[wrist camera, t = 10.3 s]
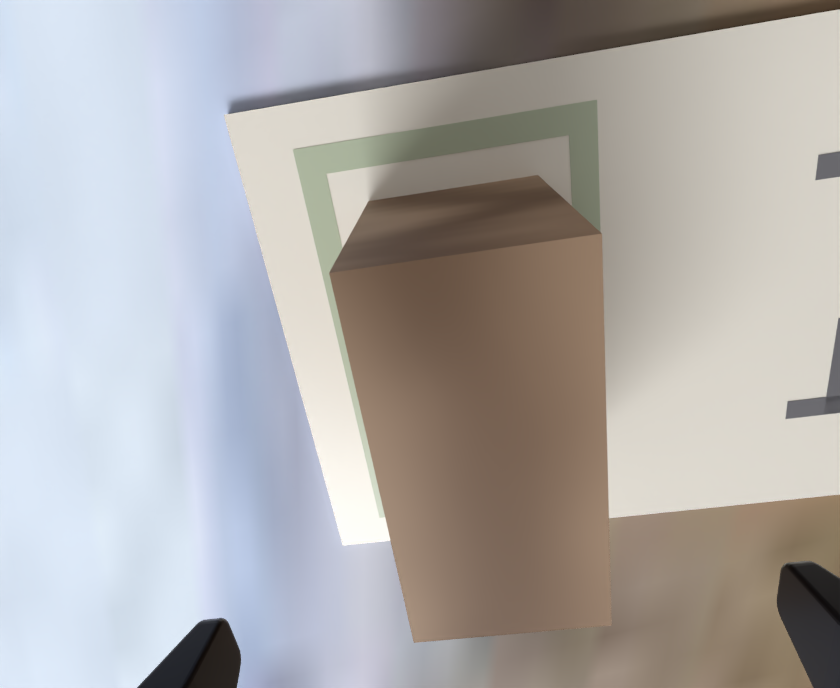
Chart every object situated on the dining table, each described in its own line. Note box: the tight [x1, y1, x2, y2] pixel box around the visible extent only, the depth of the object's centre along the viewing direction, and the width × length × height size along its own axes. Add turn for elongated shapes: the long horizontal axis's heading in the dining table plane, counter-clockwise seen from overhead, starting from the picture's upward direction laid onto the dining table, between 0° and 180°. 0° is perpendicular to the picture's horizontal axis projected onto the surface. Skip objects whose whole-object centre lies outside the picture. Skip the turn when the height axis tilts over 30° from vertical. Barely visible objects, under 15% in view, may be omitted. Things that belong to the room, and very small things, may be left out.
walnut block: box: [329, 175, 612, 643], centre depth 16 cm, size 5×10×7 cm, turn 9°
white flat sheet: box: [224, 9, 840, 546], centre depth 19 cm, size 24×16×1 cm, turn 99°
